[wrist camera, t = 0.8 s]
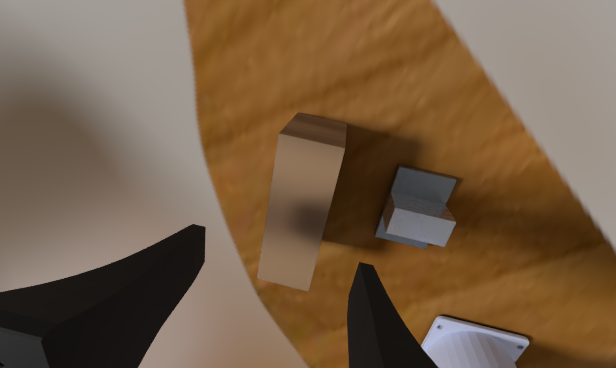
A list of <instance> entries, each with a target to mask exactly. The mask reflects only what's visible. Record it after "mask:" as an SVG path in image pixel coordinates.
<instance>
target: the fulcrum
mask: <svg viewBox="0 0 616 368" xmlns="http://www.w3.org/2000/svg"><path fill="white" fill-rule="evenodd" d="M456 181H457V179H456V178H455V177H454V176H449V175H445V174H440V173H436V172H432V171H427V170H423V169H418V168H414V167H410V166H405V165H401V164H398V167H397V170H396V172H395V175H394V178H393V181H392V184H391V187H390V190H389V193H388V195H387V198H386V201H385V204H384V207H383V210H382V213H381V215H380V218H379V221H378V224H377V227H376V230H375V237H378V238H383V239H387V240H391V241H395V242H399V243H403V244H408V245H412V246H416V247H420V248H424V249H426V247H427V245H428V243H430V244H434V245H439V246H443V247H445V245H446V243H447V241H448V239H449V237H450V235H451V232H452V230H453V228H454V226H455V224H456V221H455V219H454V217H453V216H452V214H451V213H450V211H449V209H448V208H447V206H446V203H447V201H448V199H449V196H450V194H451V192H452V190H453V188H454V185H455V183H456Z"/></svg>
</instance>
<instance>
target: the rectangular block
mask: <svg viewBox="0 0 616 368" xmlns="http://www.w3.org/2000/svg"><path fill="white" fill-rule="evenodd" d="M346 132H347V123H343V122H338V121H334V120H329V119H325V118H320V117H316V116H311V115H307V114H302V113H297V114H296V115H295V116H294V118H293V119H292V120H291V121H290V122H289V123H288V124H287V125H286V126H285V127H284V129H283V130H282V131H281V132H280V133H279V137H278V143H277V150H276V157H275V163H274V170H273V176H272V183H271V189H270V196H269V203H268V209H267V216H266V222H265V229H264V235H263V242H262V248H261V255H260V262H259V268H258V275H257V279H261V280H265V281H269V282H273V283H277V284H281V285H285V286H289V287H293V288H297V289H301V290H305V291H309V287H310V283H311V279H312V275H313V272H314V268H315V264H316V260H317V256H318V252H319V248H320V244H321V241H322V237H323V233H324V229H325V225H326V221H327V217H328V214H329V210H330V206H331V202H332V198H333V194H334V190H335V186H336V183H337V179H338V175H339V171H340V167H341V163H342V159H343V155H344V152H345V146H346Z"/></svg>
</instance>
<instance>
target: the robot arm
mask: <svg viewBox="0 0 616 368" xmlns="http://www.w3.org/2000/svg"><path fill="white" fill-rule="evenodd" d="M204 262H205V227H203V226H198V225H195V224H192V225H190V226H188V227H186V228H185V229H182V230H181V231H179V232H177V233H175V234H173V235H171V236H169V237H167V238H165V239H164V240H162V241H160V242H158V243H156V244H154V245H152V246H150V247H148V248H146V249H143V250H141V251H139V252H137V253H135V254H133V255H131V256H128V257H126V258H124V259H121V260H119V261H116V262H113V263H111V264H108V265H105V266H103V267H100V268H97V269H94V270H90V271H87V272H84V273H81V274H78V275H75V276H71V277H68V278H64V279H61V280H56V281H52V282H48V283H44V284H40V285H35V286H30V287H26V288H20V289H15V290H10V291H5V292H0V368H138V366H139V365H140V363H141V361H142V359H143V357H144V356H145V354H146V352H147V350H148V349H149V347H150V345H151V343H152V342H153V340H154V338H155V337H156V335H157V333H158V332H159V330H160V328H161V327H162V325H163V324H164V322H165V321H166V320H167V318H168V317H169V315H170V314H171V312H172V311H173V310H174V309H175V307H176V306H177V304H178V303H179V302H180V300H181V299H182V297H183V296H184V294H185V293H186V292H187V290H188V289H189V287H190V286H191V285H192V283H193V282H194V280H195V278H196V277H197V275H198V273H199V271H200V269H201V267H202V266H203V264H204ZM438 325H440V326H438ZM347 327H348V351H349V368H517V367H516V365H515V362H516V360H517V359H518V358H519V357H520V355H521V354H522V353H523V351H524V350H525V349H526V348H527V346H528V345H529V341H528V339H527V338H526V337H524V336H521V335H517V334H513V333H509V332H505V331H501V330H497V329H493V328H489V327H485V326H481V325H477V324H473V323H469V322H465V321H461V320H457V319H453V318H449V317H445V316H438V317H437V318H436V319H435V321H434V323H433V325H432V326H431V328H430V330H429V332H428V334H427V336H426V337H425V339H424V341H423V343H422V345H421V346H420V345H419V343H418V342H417V341H416V339H415V338H414V336H413V335H412V334H411V332H410V331H409V330H408V328H407V327H406V325H405V324H404V322H403V320H402V319H401V317H400V316H399V314H398V312H397V311H396V309H395V307H394V306H393V304H392V302H391V300H390V298H389V296H388V295H387V293H386V291H385V289H384V287H383V285H382V283H381V281H380V279H379V277H378V274H377V272H376V270H375V268H374V266H373V265H370V264H365V263H361V262H359V265H358V268H357V271H356V274H355V278H354V281H353V284H352V287H351V290H350V293H349V299H348V312H347Z"/></svg>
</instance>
